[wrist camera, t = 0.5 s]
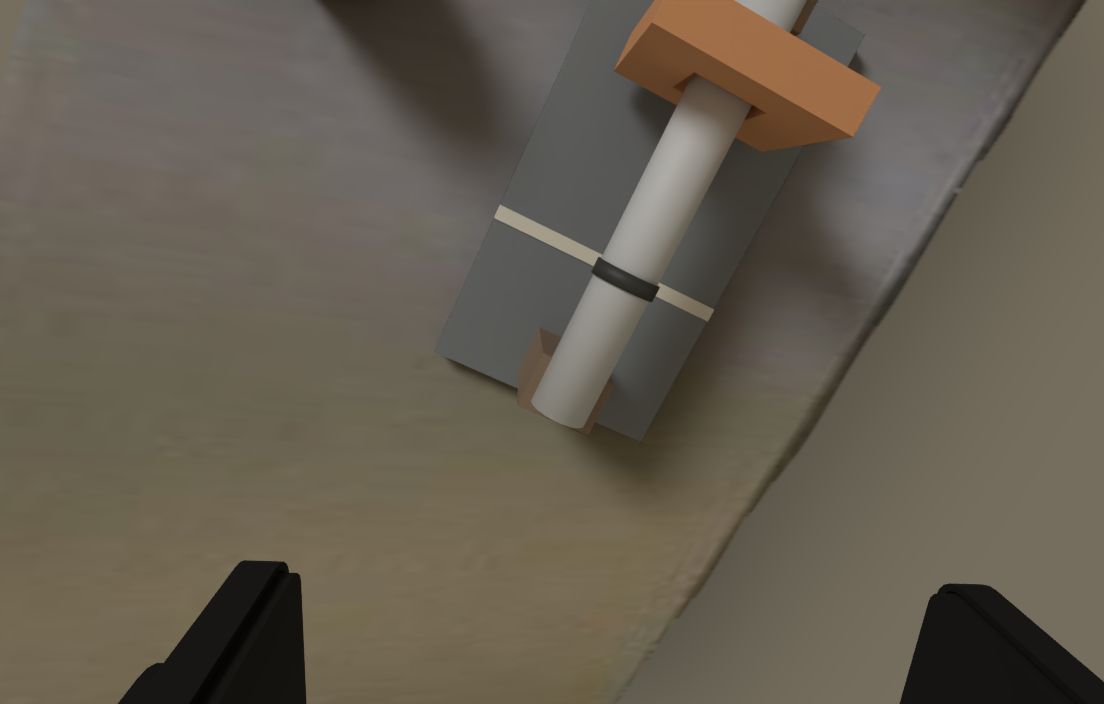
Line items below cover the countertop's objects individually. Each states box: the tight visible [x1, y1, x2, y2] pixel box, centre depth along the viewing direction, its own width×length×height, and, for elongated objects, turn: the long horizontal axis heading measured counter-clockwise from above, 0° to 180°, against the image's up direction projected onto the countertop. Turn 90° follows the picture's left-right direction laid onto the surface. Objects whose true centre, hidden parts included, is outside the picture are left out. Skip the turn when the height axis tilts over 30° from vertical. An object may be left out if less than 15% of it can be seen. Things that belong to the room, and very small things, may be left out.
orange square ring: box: [614, 0, 881, 152], centre depth 27 cm, size 2×9×9 cm, turn 64°
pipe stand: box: [434, 0, 865, 442], centre depth 31 cm, size 26×14×9 cm, turn 154°
